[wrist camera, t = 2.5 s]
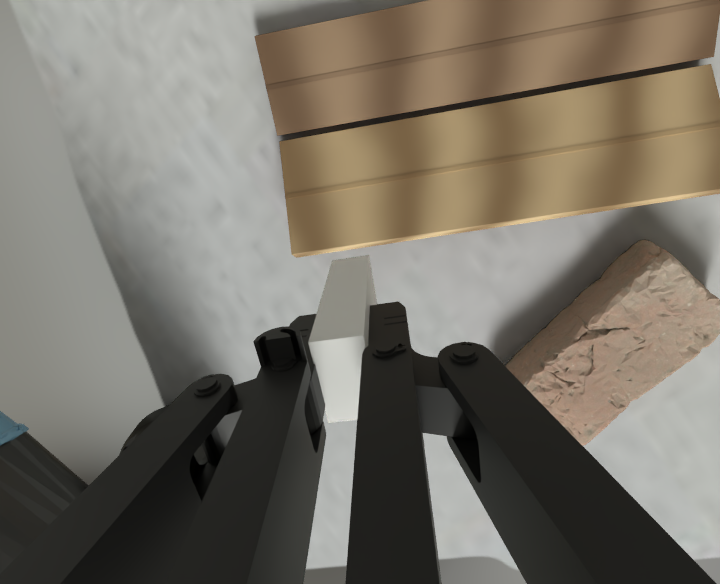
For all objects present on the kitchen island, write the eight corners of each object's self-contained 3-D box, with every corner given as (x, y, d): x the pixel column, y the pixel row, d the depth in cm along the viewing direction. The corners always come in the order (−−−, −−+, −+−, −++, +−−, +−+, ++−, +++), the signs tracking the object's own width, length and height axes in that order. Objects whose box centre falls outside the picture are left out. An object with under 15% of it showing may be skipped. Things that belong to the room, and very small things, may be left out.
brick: (638, 232, 33) (676, 252, 28) (707, 294, 35) (753, 321, 30) (485, 374, 38) (498, 408, 34) (551, 421, 40) (571, 459, 36)
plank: (296, 257, 30) (291, 254, 29) (284, 149, 31) (279, 141, 30) (726, 192, 27) (741, 185, 26) (698, 75, 28) (711, 63, 27)
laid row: (281, 134, 31) (277, 135, 29) (259, 38, 28) (254, 36, 27) (700, 58, 28) (714, 56, 27) (714, -55, 25) (730, -63, 24)
